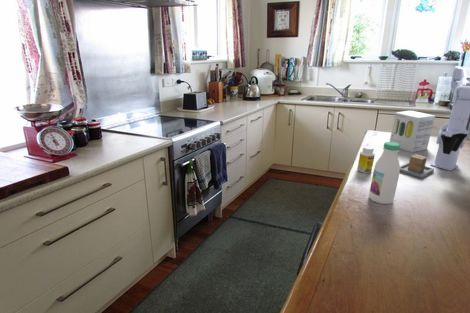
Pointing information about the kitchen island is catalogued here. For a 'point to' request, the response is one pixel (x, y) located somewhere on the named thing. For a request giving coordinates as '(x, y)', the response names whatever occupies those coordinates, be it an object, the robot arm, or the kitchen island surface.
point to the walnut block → (417, 163)
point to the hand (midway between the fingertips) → (449, 152)
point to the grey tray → (419, 175)
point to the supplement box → (412, 130)
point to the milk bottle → (385, 175)
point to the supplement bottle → (366, 159)
